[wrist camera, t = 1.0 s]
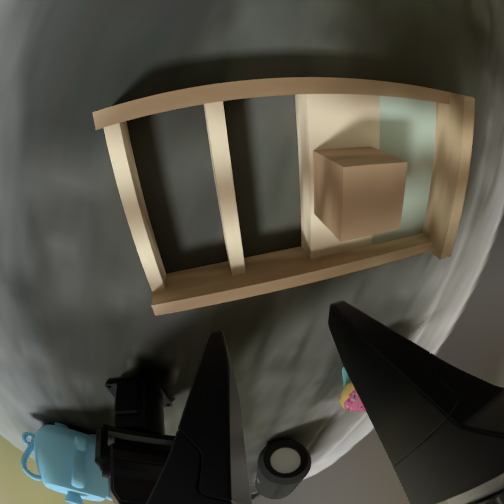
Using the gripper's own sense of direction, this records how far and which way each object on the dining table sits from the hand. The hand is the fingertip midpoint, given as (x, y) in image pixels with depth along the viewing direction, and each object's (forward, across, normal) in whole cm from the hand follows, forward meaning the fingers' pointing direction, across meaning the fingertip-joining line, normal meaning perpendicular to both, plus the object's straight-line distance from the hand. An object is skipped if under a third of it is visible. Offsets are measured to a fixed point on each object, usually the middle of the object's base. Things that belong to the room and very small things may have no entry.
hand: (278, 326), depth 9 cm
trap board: (+13, -6, 0) cm, 14 cm away
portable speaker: (+13, -1, +59) cm, 61 cm away
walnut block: (+11, -8, 0) cm, 14 cm away
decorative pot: (+13, +33, +36) cm, 51 cm away
